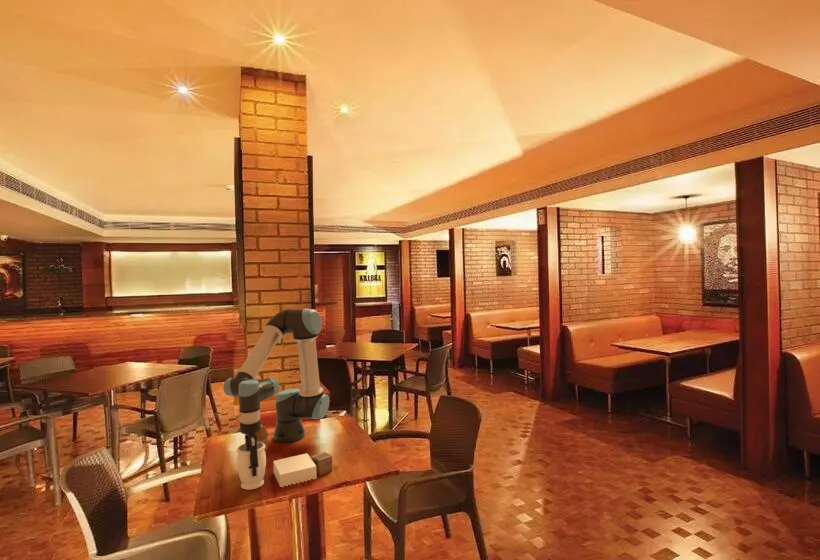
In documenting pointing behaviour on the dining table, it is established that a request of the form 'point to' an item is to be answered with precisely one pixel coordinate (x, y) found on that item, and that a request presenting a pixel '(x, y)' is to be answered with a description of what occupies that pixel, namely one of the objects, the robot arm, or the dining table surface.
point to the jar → (244, 463)
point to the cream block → (294, 470)
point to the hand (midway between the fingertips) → (252, 477)
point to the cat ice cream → (262, 436)
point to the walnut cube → (322, 462)
